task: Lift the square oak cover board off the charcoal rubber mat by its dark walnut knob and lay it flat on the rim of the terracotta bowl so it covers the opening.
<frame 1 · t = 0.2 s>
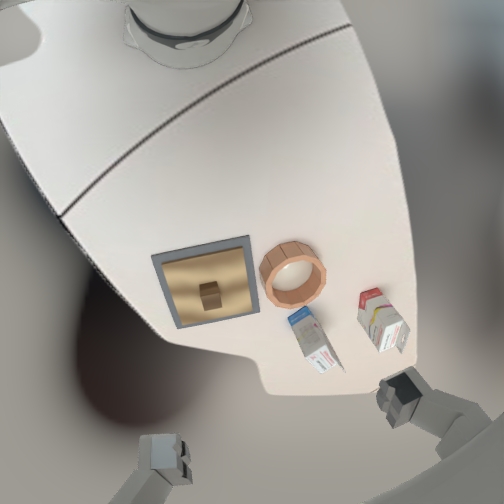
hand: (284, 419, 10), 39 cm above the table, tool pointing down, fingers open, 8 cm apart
terracotta bowl: (288, 268, 54), on the table
oak cover: (209, 287, 52), resting on rubber mat
ink box: (304, 321, 62), on the table
ink cartridge box: (366, 303, 64), on the table
rubber mat: (209, 285, 53), on the table
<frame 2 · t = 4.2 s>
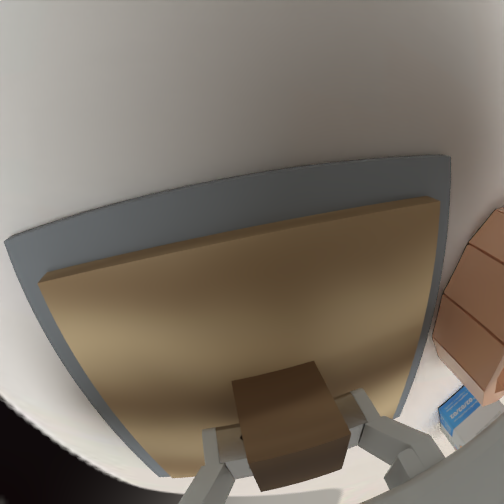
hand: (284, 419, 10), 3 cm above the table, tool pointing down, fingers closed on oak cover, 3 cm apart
terracotta bowl: (491, 288, 14), on the table
oak cover: (272, 382, 12), resting on rubber mat, touching gripper
ink box: (456, 404, 20), on the table
rubber mat: (269, 374, 12), on the table
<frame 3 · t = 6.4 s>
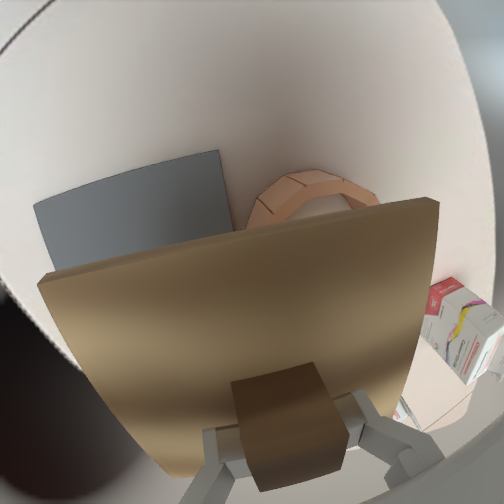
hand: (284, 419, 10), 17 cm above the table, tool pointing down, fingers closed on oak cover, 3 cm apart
terracotta bowl: (307, 232, 26), on the table
oak cover: (271, 383, 12), point 15 cm above the table, touching gripper
ink box: (337, 343, 33), on the table
ink cartridge box: (434, 306, 34), on the table
rubber mat: (142, 269, 24), on the table
when the fingers open (9 cm above the table, at t = 9.1 s): oak cover drops 1 cm, resting on terracotta bowl.
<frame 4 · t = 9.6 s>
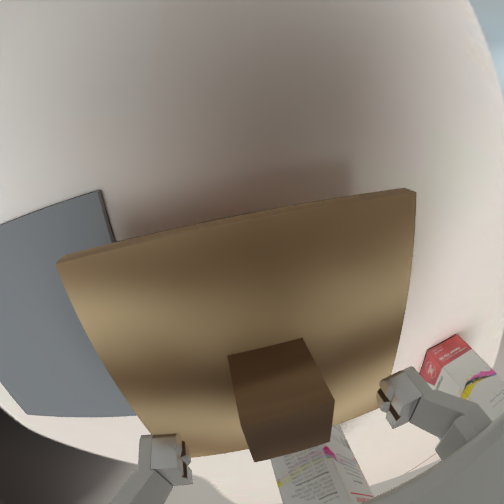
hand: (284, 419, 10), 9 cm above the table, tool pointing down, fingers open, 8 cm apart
oak cover: (265, 360, 13), point 5 cm above the table, touching terracotta bowl
ink box: (301, 419, 24), on the table
ink cartridge box: (431, 367, 26), on the table
rubber mat: (42, 339, 16), on the table
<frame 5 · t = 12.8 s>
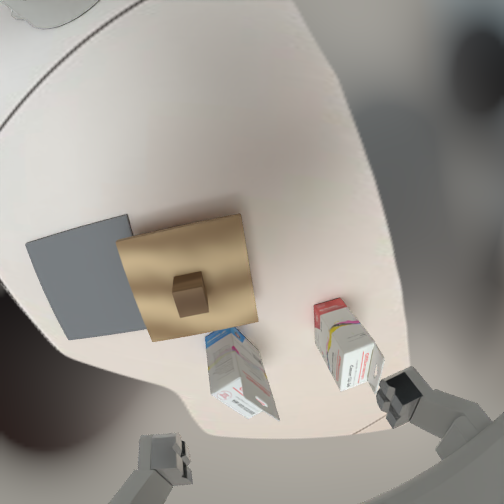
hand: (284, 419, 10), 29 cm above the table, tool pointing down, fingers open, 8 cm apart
oak cover: (190, 282, 33), point 5 cm above the table, touching terracotta bowl
ink box: (232, 343, 45), on the table
ink cartridge box: (326, 321, 46), on the table
rubber mat: (91, 285, 36), on the table
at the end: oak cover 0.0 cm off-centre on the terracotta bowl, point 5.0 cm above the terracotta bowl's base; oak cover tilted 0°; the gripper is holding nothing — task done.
